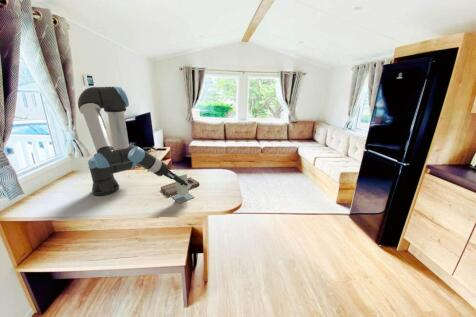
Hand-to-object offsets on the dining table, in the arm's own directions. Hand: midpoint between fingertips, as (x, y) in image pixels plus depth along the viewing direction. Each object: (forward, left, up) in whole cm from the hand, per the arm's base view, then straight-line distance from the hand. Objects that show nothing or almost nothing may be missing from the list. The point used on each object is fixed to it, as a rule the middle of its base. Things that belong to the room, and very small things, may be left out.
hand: (187, 185), depth 126 cm
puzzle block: (0, -4, -4) cm, 6 cm away
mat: (0, -4, -7) cm, 8 cm away
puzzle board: (-13, +1, -7) cm, 15 cm away
